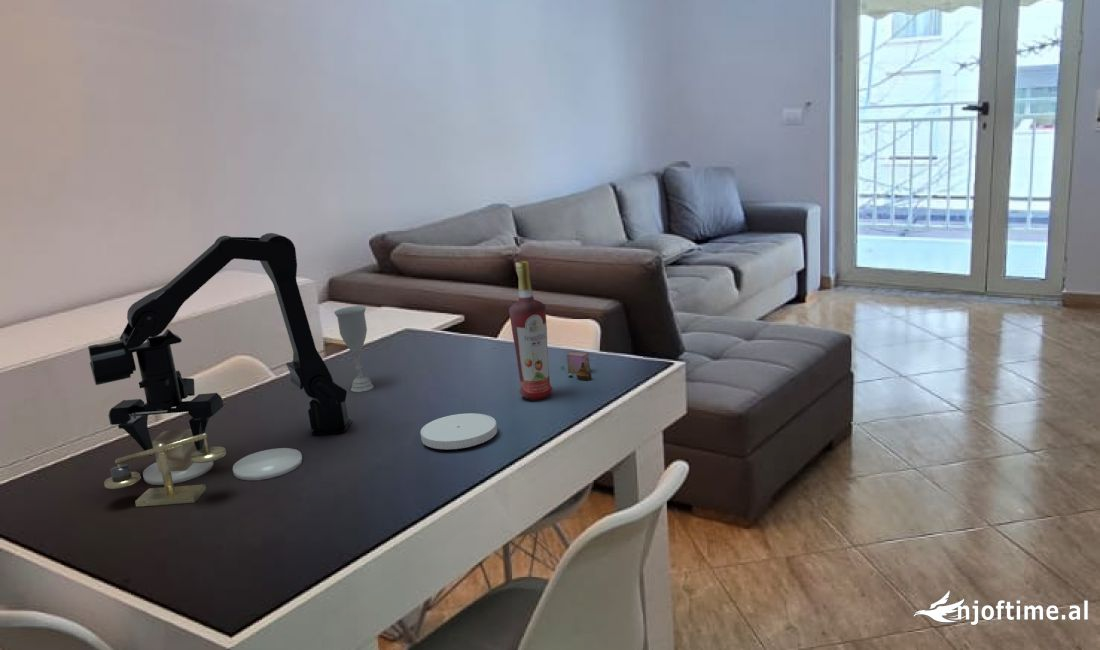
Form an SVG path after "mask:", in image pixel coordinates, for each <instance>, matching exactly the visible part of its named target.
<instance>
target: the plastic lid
mask: <svg viewBox="0 0 1100 650" xmlns="http://www.w3.org/2000/svg"><path fill="white" fill-rule="evenodd" d="M497 424H498V423H497V421H496V419H495V418H494V417H492V416H490V415H488V414H483V413H471V412H470V413H457V414H451V415H447V416H444V417H443V416H442V417H439V418H436V419H434V420H431V421H430V422H428V423H426V424H425V425H424V426H423V427H422V428H421V429H420V438H421V442H422V445H424V446H426V447H428V448H430V449H437V450H458V449H459V450H460V449H465V448H471V447H475V446H478V445H480V444H483V443H485V442H488V441H489V440H491V439H492V438H493V437H494V436H496V435H497V433H498V426H497Z"/></svg>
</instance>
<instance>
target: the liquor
mask: <svg viewBox="0 0 1100 650" xmlns="http://www.w3.org/2000/svg"><path fill="white" fill-rule="evenodd" d="M515 271H516V274H517V278H518V301H516V302H514V303H513V304H512V305H511V306H510V307H509V308H508V311H509V312H508V313H509V314H508V315H509V319H510V324H511V325H510V326H511V332H512V338H513V339H512V340H513V343H514V350H515V355H516V361H517V367H518V377H519V382H520V384H519V385H520V389H519V391H518V393H519V395H521V396H522V397H524V399H526V400H528V401H540V400H543V399H547V397H548V396H550V394H551V392H552V391H553V389H554V388H553V386H552V385H551V382H550V380H551V379H550V367H549V365H550V364H549V353H548V331H547V330H548V327H547V326H548V325H547V316H546V315H547V314H546V313H547V312H546V304H544V303H543V302H541V301H540V300H538V299H534V293H533V288H532V283H531V278H530V275H531V274H530V273H531V268H530V261H528V260H524V261H523V260H522V261H517V262H515Z"/></svg>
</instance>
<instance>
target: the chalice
mask: <svg viewBox="0 0 1100 650" xmlns="http://www.w3.org/2000/svg"><path fill="white" fill-rule="evenodd" d="M366 310H367V307H366V306H365V305H353V306H352V305H351V306H347V307H342V308H339V309H337V310H335V311H333V313H334V315H335V316H336V317H337V323H338V328H339V329H338V330H339V334H340V337H341V339H342V340H343V343H344V344H345V346H346V347H348V349H349V351H351V352H354V362H355V363H356V365H355V370H356V372H357V375H356V377H355V378H353V381H352V385H351V386H352V387H351V388H350V391H351V392H354V393H360V392H361V393H362V392H366V391H371V390H372V389H373V388H374V384H372V381H371V380H370V378H369V377H368V376H366V375H364V374H363V372H362V371H363V367H364V366H363V365H362V364H361V360H362V358H361V356H360V351H361V350H363V347H364V344H365V341H366V337H367V331H368V328H367V321H366V320H367V319H366V315H365V314H366V313H365V311H366Z"/></svg>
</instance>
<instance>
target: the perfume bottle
mask: <svg viewBox="0 0 1100 650" xmlns="http://www.w3.org/2000/svg"><path fill="white" fill-rule="evenodd" d="M566 363H567V372H568V378H569V379H570V378H571V377H573V376H574V375H573V374H575V375H576V378H577V379H578V380H580V381H590V380H591V379H592V374H591V365H590V354H589V352H585V351H584V352H581V351H573V350H572V351H570V352H569V353H567V354H566Z"/></svg>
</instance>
